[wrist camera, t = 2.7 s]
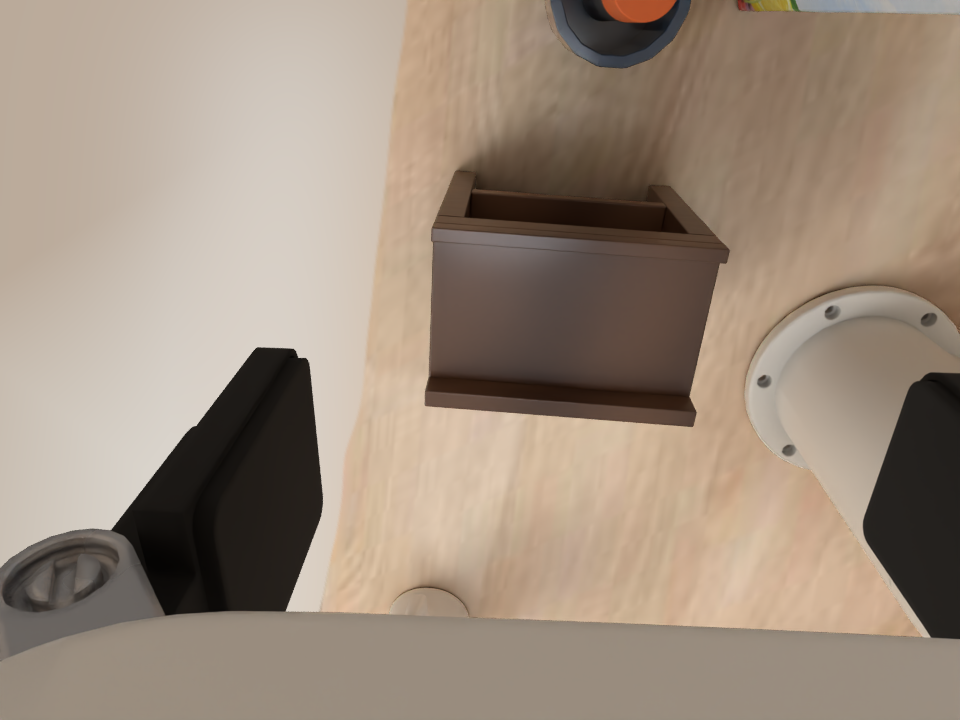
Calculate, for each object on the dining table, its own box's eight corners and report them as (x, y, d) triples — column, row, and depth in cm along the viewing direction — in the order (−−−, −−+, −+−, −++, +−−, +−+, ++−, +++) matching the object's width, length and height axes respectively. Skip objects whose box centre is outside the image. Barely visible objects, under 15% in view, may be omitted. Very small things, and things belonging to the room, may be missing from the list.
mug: (474, 647, 55) (464, 800, 44) (391, 647, 55) (360, 798, 44) (467, 549, 50) (454, 693, 39) (376, 550, 51) (339, 692, 40)
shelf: (670, 186, 38) (734, 254, 27) (646, 318, 42) (693, 427, 30) (455, 170, 38) (429, 231, 27) (448, 304, 42) (424, 406, 31)
